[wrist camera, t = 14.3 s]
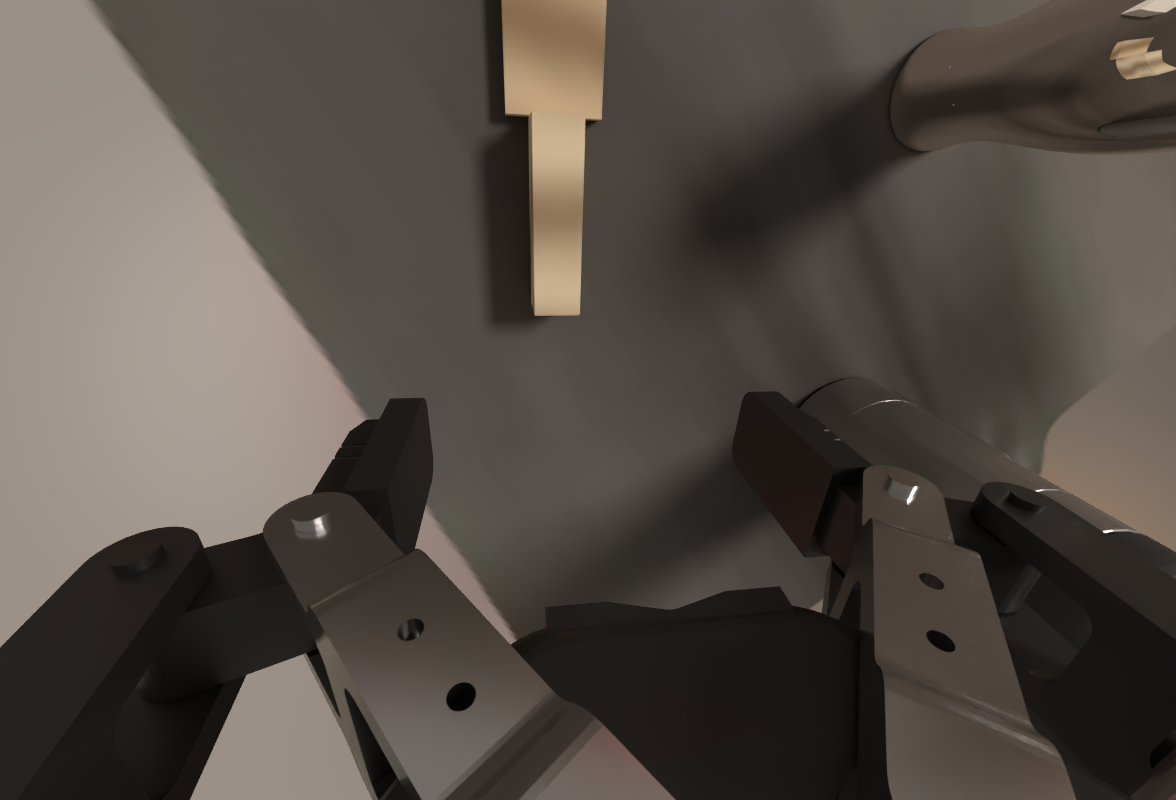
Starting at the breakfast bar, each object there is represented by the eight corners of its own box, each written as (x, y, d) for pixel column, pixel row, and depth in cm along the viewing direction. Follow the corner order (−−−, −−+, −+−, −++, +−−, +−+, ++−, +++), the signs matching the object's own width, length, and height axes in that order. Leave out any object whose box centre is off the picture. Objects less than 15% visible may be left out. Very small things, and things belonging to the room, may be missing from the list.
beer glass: (984, -7, 26) (1493, -190, 13) (994, 121, 29) (1407, 80, 16) (871, 64, 27) (1243, -41, 13) (892, 181, 30) (1210, 191, 16)
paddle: (590, 301, 30) (599, 314, 27) (511, 302, 29) (513, 316, 26) (603, -21, 23) (617, -46, 20) (499, -33, 22) (500, -60, 19)
